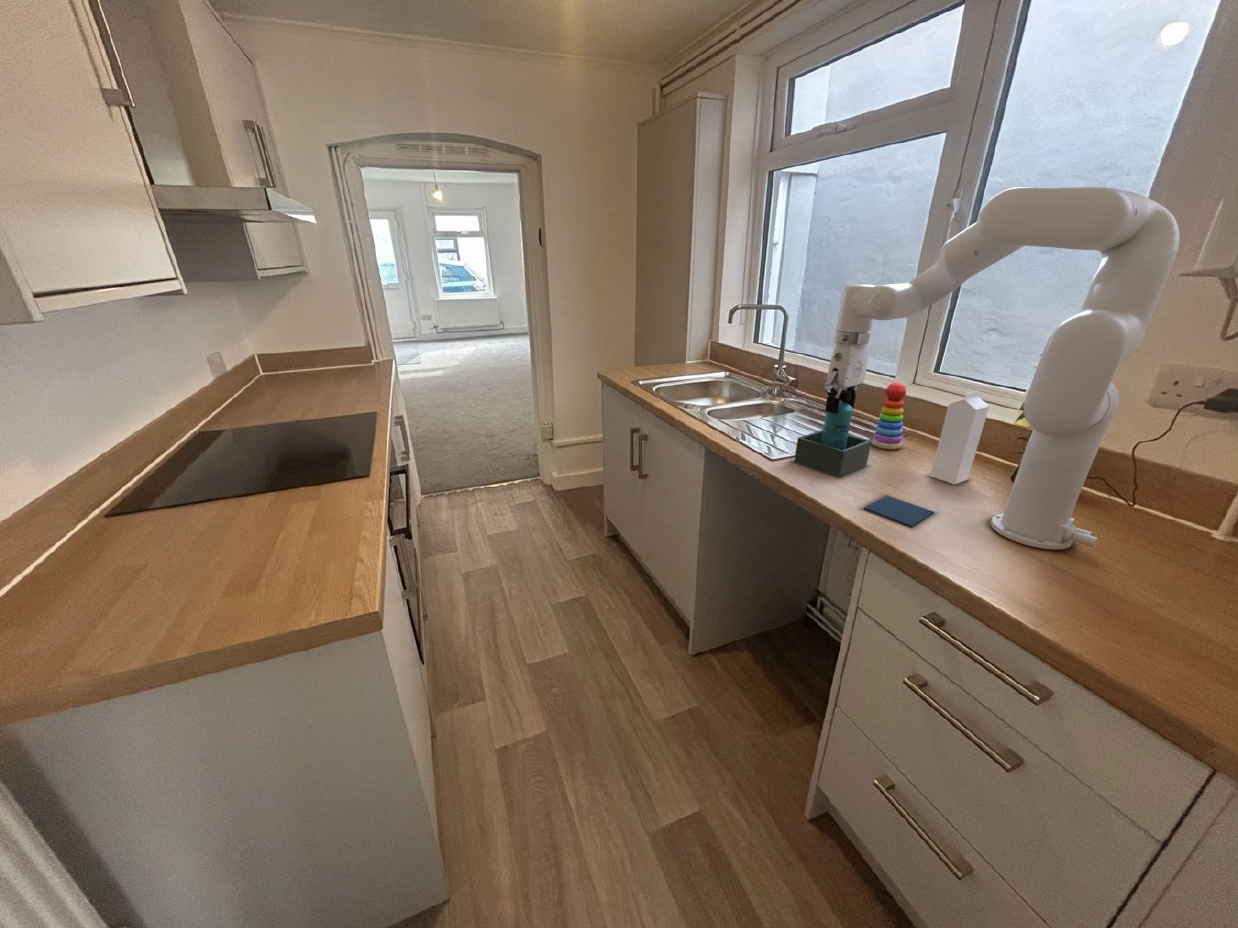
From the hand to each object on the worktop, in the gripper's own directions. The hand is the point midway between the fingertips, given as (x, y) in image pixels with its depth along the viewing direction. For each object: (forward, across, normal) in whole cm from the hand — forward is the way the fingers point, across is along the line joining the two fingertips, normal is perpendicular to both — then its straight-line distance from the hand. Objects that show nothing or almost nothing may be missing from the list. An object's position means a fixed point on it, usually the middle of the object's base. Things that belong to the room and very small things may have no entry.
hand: (839, 409), depth 123 cm
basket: (+15, 0, 0) cm, 15 cm away
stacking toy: (+15, +26, -2) cm, 30 cm away
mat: (+15, -13, -24) cm, 31 cm away
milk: (+15, +15, -23) cm, 31 cm away
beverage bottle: (+15, 0, 0) cm, 15 cm away
